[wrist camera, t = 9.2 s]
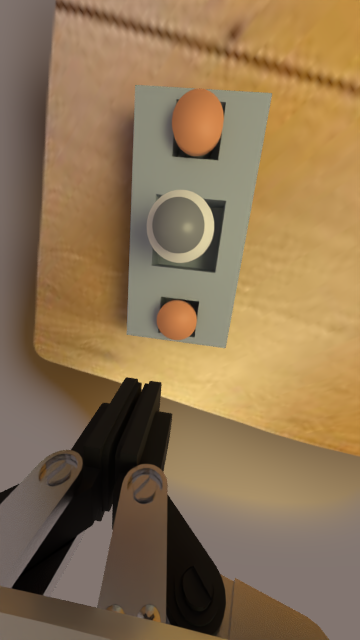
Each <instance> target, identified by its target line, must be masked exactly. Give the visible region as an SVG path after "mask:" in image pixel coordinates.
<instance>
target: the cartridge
mask: <svg viewBox="0 0 360 640" xmlns="http://www.w3.org/2000/svg"><path fill="white" fill-rule="evenodd" d="M147 235H148V239H149V241H150V244H151V245H152V247H153V249H154V250H155V251H156V252H157V253H158V254H159V255H160V256H161V257H163V258H164V259H166V260H168V261H171V262H175V263H187V262H191V261H193V260H195V259H197V258H199V257H200V256H201V255H203V254H204V253H205V251H206V250H207V249H208V247H209V246H210V244H211V242H212V239H213V235H214V218H213V215H212V212H211V209H210V207H209V206H208V204H207V203H206V202H205V200H204V199H203V198H202V197H200V196H199V195H197V194H196V193H194V192H191V191H188V190H174V191H170V192H168V193H166V194H164V195H162V196H161V197H160V198H159V199H158V200H157V201H156V202H155V203H154V205H153V206H152V208H151V210H150V212H149V215H148V219H147Z"/></svg>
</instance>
